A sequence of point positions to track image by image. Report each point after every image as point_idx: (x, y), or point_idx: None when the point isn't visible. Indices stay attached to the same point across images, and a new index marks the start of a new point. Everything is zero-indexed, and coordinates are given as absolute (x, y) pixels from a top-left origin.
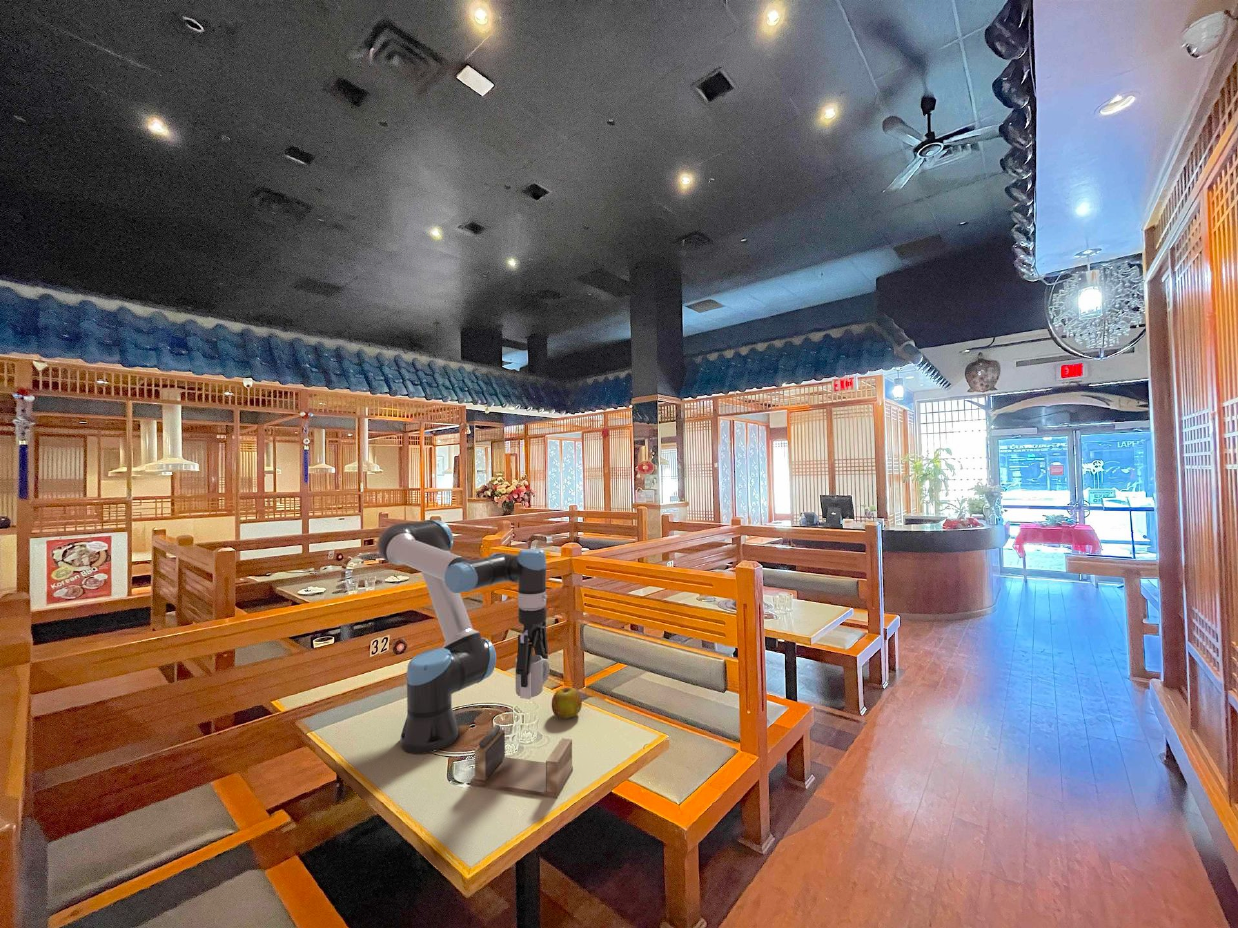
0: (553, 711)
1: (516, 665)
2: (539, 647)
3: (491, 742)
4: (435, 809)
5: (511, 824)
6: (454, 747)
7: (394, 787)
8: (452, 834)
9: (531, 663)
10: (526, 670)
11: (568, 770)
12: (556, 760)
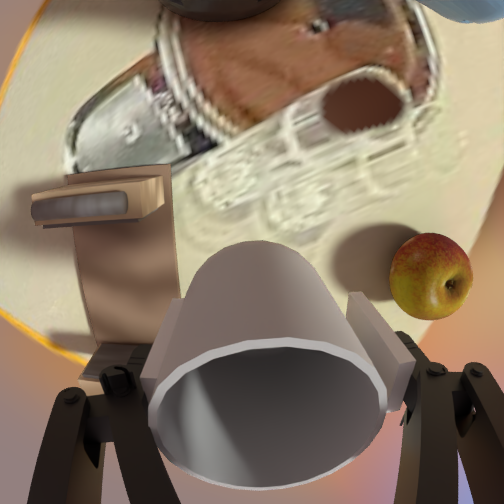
0: (403, 246)
1: (46, 428)
2: (401, 481)
3: (69, 220)
4: (8, 160)
5: (30, 307)
6: (198, 37)
7: (42, 38)
8: None
9: (187, 468)
10: (103, 448)
11: None
12: (89, 395)
